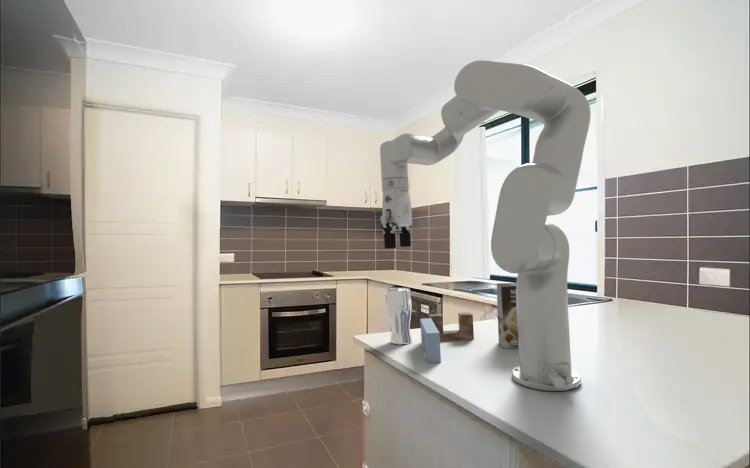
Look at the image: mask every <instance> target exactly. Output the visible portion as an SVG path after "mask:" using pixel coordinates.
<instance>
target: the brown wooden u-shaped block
mask: <svg viewBox="0 0 750 468" xmlns="http://www.w3.org/2000/svg"><path fill="white" fill-rule="evenodd" d="M473 316H474V314H473V313H472V312H471V311H469V312H468V311H467V312H458V330H444V321H443V320H444V319H443V317H444V316H443V315H442V313H431V314H430V313H429V314H428V318H431V319H432V321H433V322H434V324H435V326H436V328H437V329H438V331H439V334H440V342H443V341H444V340H446V341H445V342H447V341H465V340H467V341H468V340H475V337H474V336H475V333H474V317H473Z"/></svg>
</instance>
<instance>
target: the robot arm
mask: <svg viewBox="0 0 750 468" xmlns="http://www.w3.org/2000/svg"><path fill="white" fill-rule="evenodd" d="M453 89H454V93H455V96H453V97H452V98H451V99H450V100H448V101H447V102H446V103H444V105H443V106H442V108H441V112H440V116H441V121H442V123H443V125H444V127H443V128H442V129H441V130H440V131H438V132H436V134H434V135H433V136H431V137H429V136H426V135H425V136H424V135H420V134H413V133H407V132H406V133H402V134H400V135H398V136H397V137H395V138H393V139H392V140H386V141H385V142H382V144H380V147H379V156H380V174H381V175H380V177H381V179H380V180H381V193H382V204H381V205H382V212H381V213H382V215H381V216H380V218H379V219H380V223H381V228H382V233H383V238H384V239H383V241H384V249H397V236H396V233H395V230H396V227H398V228H399V246H400V247H401V248H404V247H406V248H407V247H411V246H412V239H411V237H412V236H411V231H412V229H411V228H412V225H413V215H412V214H413V213H412V203H411V197H410V193H409V191H410V183H409V167H408V166H409V164H413V165H414V164H415V165H422V166H432V165H435V164H437V163H440V162H441V161H443V160H445V159H446V158H448V157H449V156H450V155H452V154H453V153H454V152H455V151H457V150H458V148H459V146H460V145H461V143H462V142H463V140H464V136H465V135H466V134H467V133H469V132H471V130H473V129H475V128H476V127H477V126H479V125H480V124H482V123H484V122H485V121H487V120H488V119H490V118H491V117H492V116H494V115H495V114H497V113H499V112H506V113H511V114H514V115H517V116H520V117H523V118H526V119H529V120H534V121H537V122H539V123H541V124H542V125H543V129H542V130H541V132H540V133H539V134H538V135H539V136H538V137H537V141H536V143H535V147H534V152H533V159H532V161H531V163H525V164H522V165H519V166H517V167H515V168H514V169H513V170H511V171H510V172H509V174H507V175H506V177H505V179H504V181H503V183H502V184H501V185H502V186H501V187H500V192H499V194H498V201H497V205H496V210H495V211H496V212H495V217H494V221H493V222H494V223H493V227H492V232H491V233H492V234H491V237H490V251H491V256H492V259H493V260H494V263H495V264H496V265H497V267H499V268H500V269H501V270H503V271H505V272H507V273H511V274H517V276H516V282H515V283H516V305H517V324H518V343H519V348H518V355H519V356H518V358H519V365H518V366H515V367H514V368H513V369H512V370H511V378H512V379H513V380H514V382H516V383H518V384H520V386H524V387H527V388H530V389H534V390H538V391H540V390H541V391H547V392H548V391H549V392H565V391H570V390H569V389H571V390H573V389H572V388H574V389H576V388H577V387H576V386H577V385H578V384H579V383H580V382H581V383H582V378H581V375H580V374H579V373H578V372H577V371H575V370H573V369H572V357H571V353H572V352H571V338H570V320H569V317H570V316H569V298H568V297H569V296H568V273H569V272H568V271H569V262H570V243H569V240H568V237H567V235H566V234H565V232H564V231H563V230H562V229H561V228H560V227H559V226H557V225H556V224H553V223H550V222H548V221H547V218H548V217H550V216H556V215H560V214H561V215H562V213H565V212H566V211H567V210H568V209H569V208H570V207H571V205H572V203H573V201H574V198H575V194H576V190H577V184H578V180H579V179H578V178H579V175H580V171H581V170H580V169H581V166H582V161H583V156H584V155H583V154H584V149H585V144H586V141H587V137H588V132H589V128H590V124H591V107H590V103H589V100H588V99H587V97H586V96H585V94H583V92H582V91H580V89H578V88H577V87H575V86H573V85H572V84H570V83H569V82H567V81H564V80H562V79H560V78H559V77H557V76H555V75H552V74H550V73H548V72H546V71H544V70H542V69H540V68H538V67H535V66H532V65H529V64H523V63H515V62H514V63H513V62H504V61H503V62H501V61H492V60H482V59H481V60H474V61H471V62H469V63H467V64H466V65H464V66H463V67H462V68H461V69H460V70H459V72H458V73H457V75H456V76H455V79H454V87H453ZM575 387H576V388H575Z"/></svg>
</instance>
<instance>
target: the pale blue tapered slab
mask: <svg viewBox="0 0 750 468" xmlns="http://www.w3.org/2000/svg"><path fill="white" fill-rule="evenodd" d="M419 320H420V340H421V347H422V350H423V349H424V350H423V351H425V358H426V360H427V364H436V363H437V364H440V363H441V362H442V360H441V359H442V358H441V355H442V354H441V341H440V334H439V331H438V329H437V328H436V326H435V324H434V322H433V321H432V319H431V318H429V317H428V318H420V319H419Z"/></svg>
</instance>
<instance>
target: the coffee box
mask: <svg viewBox="0 0 750 468" xmlns="http://www.w3.org/2000/svg"><path fill="white" fill-rule="evenodd" d="M516 283H517V282H507V283H506V282H505V283H499V282H498V283H497V282H496V302H497V305H496V306H497V330H498V344H499V345H500V346H501V347H502V348H503V349H506V350H507V349H519V343H518V324H517V305H516Z"/></svg>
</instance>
